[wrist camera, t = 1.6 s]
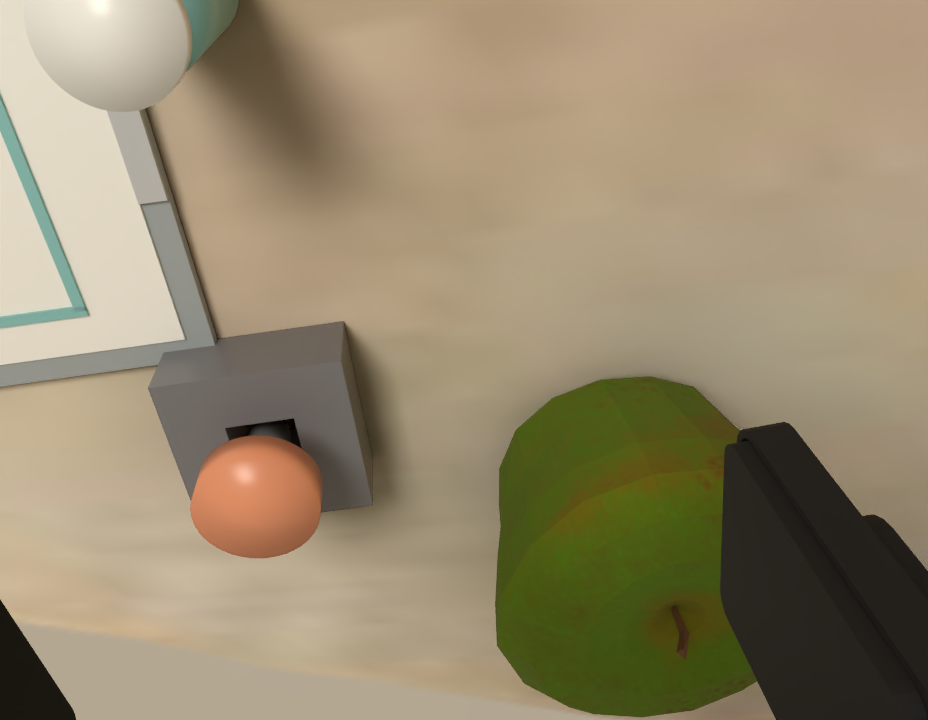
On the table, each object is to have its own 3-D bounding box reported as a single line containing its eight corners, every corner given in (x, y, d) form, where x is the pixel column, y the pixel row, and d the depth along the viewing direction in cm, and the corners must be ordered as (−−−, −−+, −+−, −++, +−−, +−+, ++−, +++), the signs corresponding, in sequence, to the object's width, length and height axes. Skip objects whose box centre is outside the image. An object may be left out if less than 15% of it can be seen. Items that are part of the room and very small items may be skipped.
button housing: (166, 345, 31) (147, 388, 29) (343, 321, 31) (340, 360, 29) (214, 482, 35) (201, 529, 32) (372, 459, 35) (372, 505, 33)
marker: (119, -70, 24) (-2, -42, 16) (229, -84, 24) (160, -62, 16) (153, 46, 26) (58, 121, 18) (255, 33, 26) (205, 102, 18)
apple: (531, 583, 40) (581, 805, 31) (424, 408, 34) (444, 618, 24) (768, 489, 38) (900, 694, 29) (701, 286, 32) (840, 462, 23)
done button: (199, 397, 30) (174, 472, 26) (314, 380, 30) (305, 453, 27) (229, 485, 33) (210, 566, 29) (336, 469, 33) (331, 548, 29)
